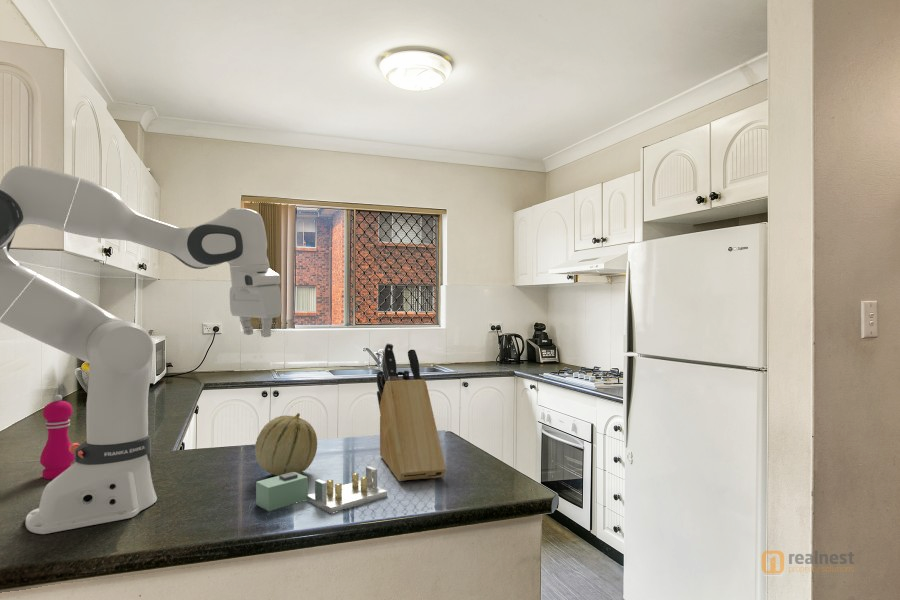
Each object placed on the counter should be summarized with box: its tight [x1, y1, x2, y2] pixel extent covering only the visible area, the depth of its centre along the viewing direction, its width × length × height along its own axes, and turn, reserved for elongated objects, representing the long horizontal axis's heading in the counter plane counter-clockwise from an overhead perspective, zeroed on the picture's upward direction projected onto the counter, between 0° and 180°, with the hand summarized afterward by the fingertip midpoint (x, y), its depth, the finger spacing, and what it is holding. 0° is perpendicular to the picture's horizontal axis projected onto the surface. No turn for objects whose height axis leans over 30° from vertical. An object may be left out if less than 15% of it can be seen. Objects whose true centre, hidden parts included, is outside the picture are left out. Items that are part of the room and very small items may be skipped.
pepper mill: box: [39, 394, 75, 480], centre depth 135 cm, size 7×7×20 cm
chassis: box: [305, 465, 388, 514], centre depth 117 cm, size 14×10×5 cm
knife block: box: [376, 343, 447, 482], centre depth 143 cm, size 11×35×31 cm, turn 18°
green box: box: [255, 472, 309, 512], centre depth 116 cm, size 9×6×6 cm, turn 136°
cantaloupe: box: [254, 412, 318, 477], centre depth 134 cm, size 15×15×15 cm
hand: (257, 335), depth 129 cm, fingers open, 8 cm apart
